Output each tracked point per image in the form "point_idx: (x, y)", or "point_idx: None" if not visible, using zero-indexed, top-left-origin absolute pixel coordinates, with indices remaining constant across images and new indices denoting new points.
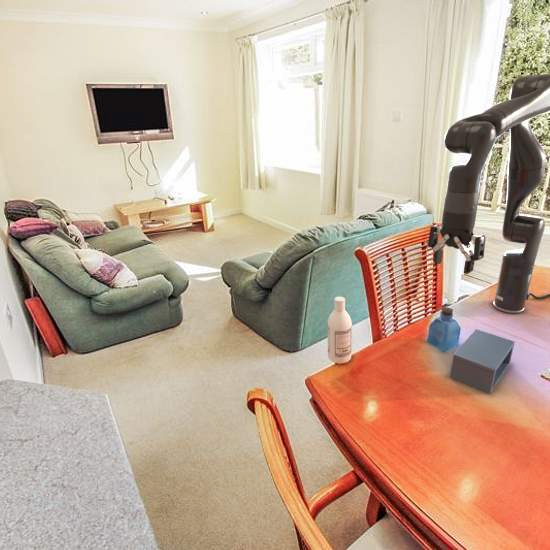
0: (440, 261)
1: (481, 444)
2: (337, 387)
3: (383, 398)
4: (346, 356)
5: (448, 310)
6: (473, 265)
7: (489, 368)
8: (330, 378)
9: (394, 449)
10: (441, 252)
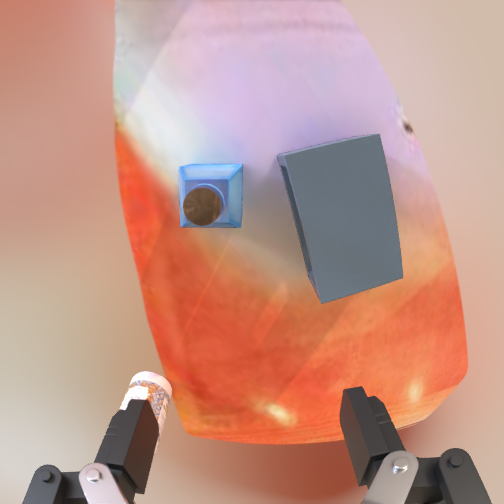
0: (146, 412)
1: (408, 346)
2: (218, 422)
3: (275, 394)
4: (170, 398)
5: (206, 206)
6: (392, 427)
7: (393, 280)
8: (195, 419)
9: None
10: (130, 463)
